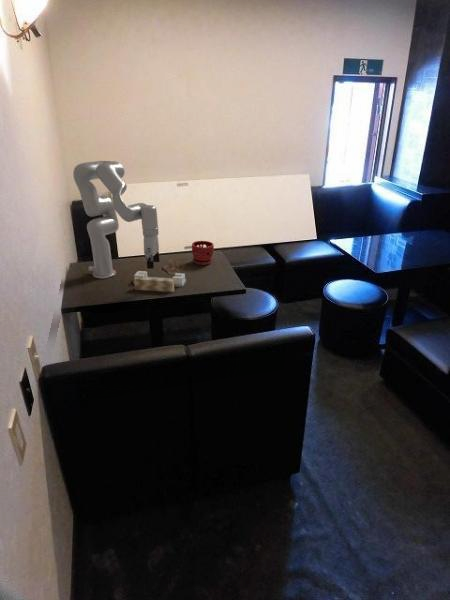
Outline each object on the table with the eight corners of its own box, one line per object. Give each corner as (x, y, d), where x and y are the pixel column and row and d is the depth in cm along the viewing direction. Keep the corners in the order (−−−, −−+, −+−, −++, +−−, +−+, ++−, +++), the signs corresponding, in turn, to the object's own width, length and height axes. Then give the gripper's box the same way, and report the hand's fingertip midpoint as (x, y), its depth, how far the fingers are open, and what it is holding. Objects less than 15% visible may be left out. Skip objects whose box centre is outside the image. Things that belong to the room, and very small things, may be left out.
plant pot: (193, 267, 240) (193, 247, 235) (191, 259, 252) (190, 241, 247) (215, 265, 242) (215, 246, 237) (211, 258, 254) (211, 239, 249)
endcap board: (133, 283, 217) (132, 275, 215) (138, 278, 224) (137, 270, 222) (182, 286, 213) (182, 278, 212) (186, 280, 221) (186, 273, 219)
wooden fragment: (180, 275, 229) (180, 273, 229) (160, 275, 228) (160, 273, 228) (181, 259, 252) (181, 258, 252) (163, 260, 252) (163, 258, 251)
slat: (135, 289, 210) (134, 279, 208) (136, 288, 212) (135, 277, 210) (172, 292, 208) (172, 281, 205) (174, 290, 210) (173, 279, 207)
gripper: (148, 226, 205) (151, 259, 212) (137, 236, 189) (140, 270, 196) (163, 227, 204) (165, 259, 211) (152, 236, 188) (155, 271, 195)
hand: (153, 265), depth 204 cm, fingers open, 9 cm apart
